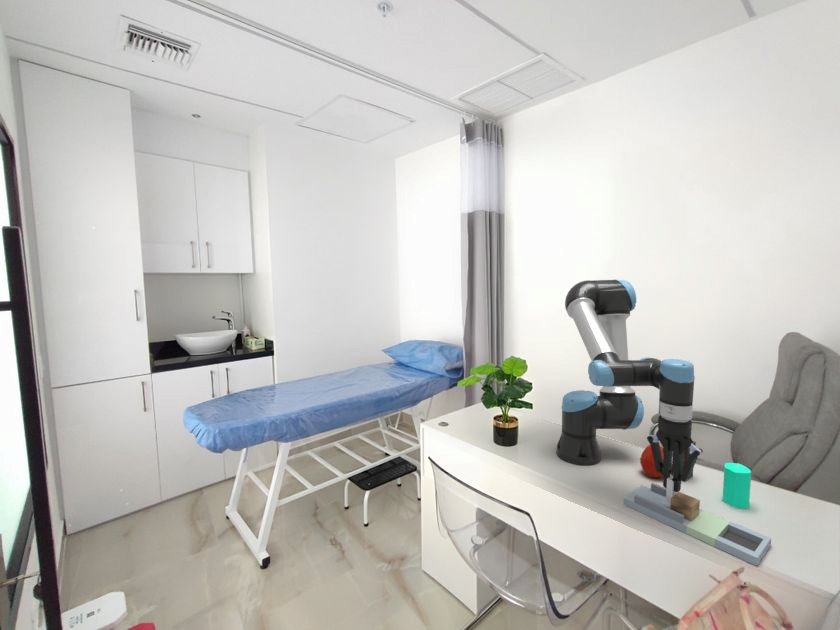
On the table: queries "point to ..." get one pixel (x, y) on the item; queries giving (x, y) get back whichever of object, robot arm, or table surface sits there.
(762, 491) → the table surface
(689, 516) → the block
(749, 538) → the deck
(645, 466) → the apple
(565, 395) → the robot arm
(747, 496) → the candle
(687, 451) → the box
